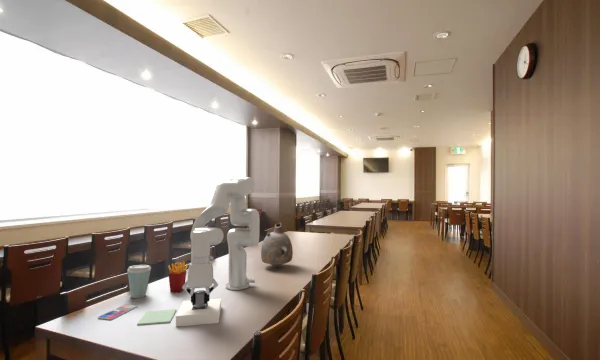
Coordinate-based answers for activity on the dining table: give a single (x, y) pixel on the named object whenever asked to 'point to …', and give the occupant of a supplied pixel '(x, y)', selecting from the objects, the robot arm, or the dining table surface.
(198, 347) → the dining table surface
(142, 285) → the disposable coffee cup
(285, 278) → the dining table surface
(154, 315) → the pad
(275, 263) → the jug
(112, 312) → the smartphone
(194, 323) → the pocket block
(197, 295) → the peg
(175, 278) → the french fries
